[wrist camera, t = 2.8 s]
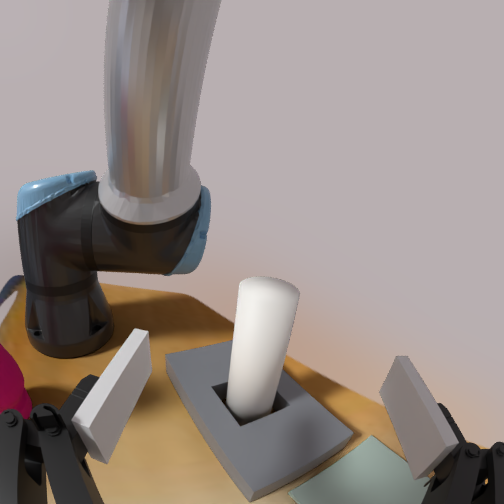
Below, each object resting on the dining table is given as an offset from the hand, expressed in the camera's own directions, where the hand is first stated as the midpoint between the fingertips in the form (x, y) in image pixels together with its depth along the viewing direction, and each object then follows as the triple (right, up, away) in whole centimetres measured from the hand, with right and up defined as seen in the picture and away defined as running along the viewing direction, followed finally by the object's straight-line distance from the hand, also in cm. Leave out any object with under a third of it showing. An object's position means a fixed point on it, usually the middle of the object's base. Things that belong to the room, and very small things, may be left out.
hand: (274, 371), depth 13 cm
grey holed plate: (-2, -12, +15) cm, 19 cm away
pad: (+10, -17, +3) cm, 21 cm away
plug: (-2, -12, +15) cm, 19 cm away
